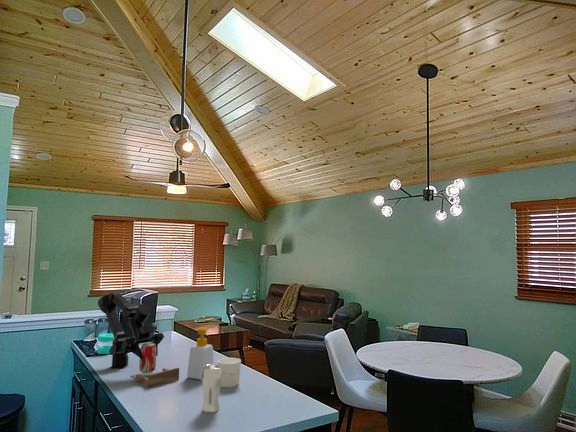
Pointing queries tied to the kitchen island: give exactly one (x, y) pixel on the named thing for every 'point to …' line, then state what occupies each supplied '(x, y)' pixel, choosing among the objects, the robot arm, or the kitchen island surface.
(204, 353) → the soap bottle
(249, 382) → the kitchen island surface
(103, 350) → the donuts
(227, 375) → the cup
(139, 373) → the mat
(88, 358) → the kitchen island surface
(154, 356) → the soda can
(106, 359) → the kitchen island surface
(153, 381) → the shelf lane
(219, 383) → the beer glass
